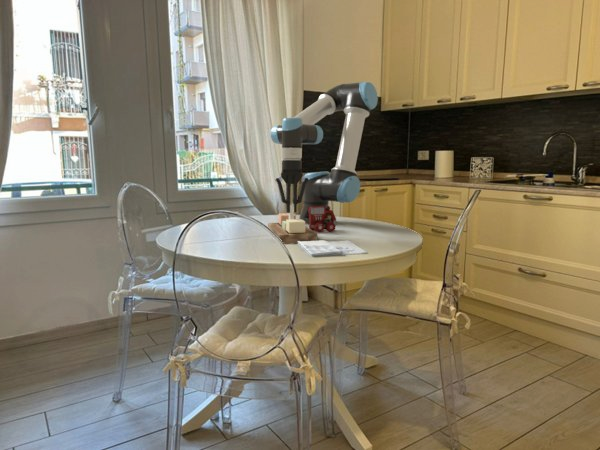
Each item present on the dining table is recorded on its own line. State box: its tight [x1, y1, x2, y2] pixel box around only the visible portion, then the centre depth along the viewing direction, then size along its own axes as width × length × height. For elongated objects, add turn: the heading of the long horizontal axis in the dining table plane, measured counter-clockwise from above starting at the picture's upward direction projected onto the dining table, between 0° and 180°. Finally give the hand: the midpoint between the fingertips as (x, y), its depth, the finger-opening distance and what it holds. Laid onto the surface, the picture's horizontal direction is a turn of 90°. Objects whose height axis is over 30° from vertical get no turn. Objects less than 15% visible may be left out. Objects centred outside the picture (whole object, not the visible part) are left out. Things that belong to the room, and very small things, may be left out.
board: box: [267, 221, 318, 244], centre depth 169 cm, size 14×26×3 cm, turn 13°
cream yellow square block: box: [286, 218, 306, 233], centre depth 161 cm, size 6×6×4 cm
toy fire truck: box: [308, 205, 337, 234], centre depth 179 cm, size 7×12×10 cm, turn 113°
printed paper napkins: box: [297, 239, 368, 257], centre depth 147 cm, size 19×20×2 cm
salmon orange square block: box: [277, 212, 297, 226], centre depth 176 cm, size 6×6×4 cm
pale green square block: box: [282, 221, 286, 230], centre depth 169 cm, size 6×6×4 cm
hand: (291, 220), depth 168 cm, fingers closed
